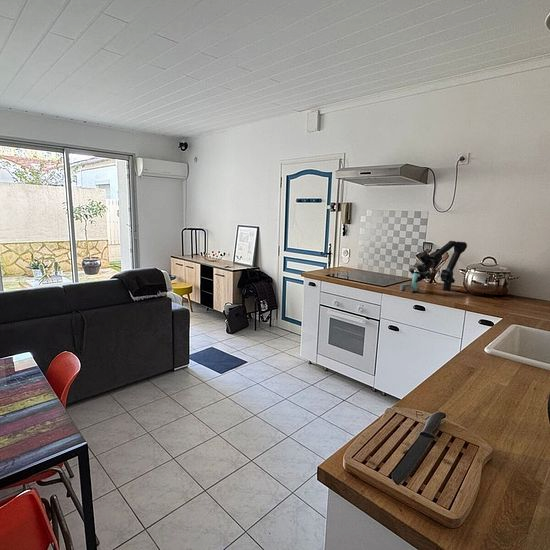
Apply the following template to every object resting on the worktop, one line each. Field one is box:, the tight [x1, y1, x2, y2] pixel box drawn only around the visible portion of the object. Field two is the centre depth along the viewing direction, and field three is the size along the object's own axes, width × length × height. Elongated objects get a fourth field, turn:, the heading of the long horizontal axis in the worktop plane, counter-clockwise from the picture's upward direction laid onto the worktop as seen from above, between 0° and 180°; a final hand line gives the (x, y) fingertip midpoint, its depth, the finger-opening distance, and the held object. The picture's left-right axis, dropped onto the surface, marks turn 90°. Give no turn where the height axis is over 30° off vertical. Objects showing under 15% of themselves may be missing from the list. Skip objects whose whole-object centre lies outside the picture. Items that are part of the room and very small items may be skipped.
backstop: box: [399, 283, 412, 291], centre depth 272 cm, size 2×10×4 cm, turn 122°
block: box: [404, 286, 421, 294], centre depth 267 cm, size 6×9×3 cm, turn 122°
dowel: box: [411, 273, 419, 292], centre depth 264 cm, size 4×4×12 cm
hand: (413, 281), depth 264 cm, fingers closed on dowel, 4 cm apart
